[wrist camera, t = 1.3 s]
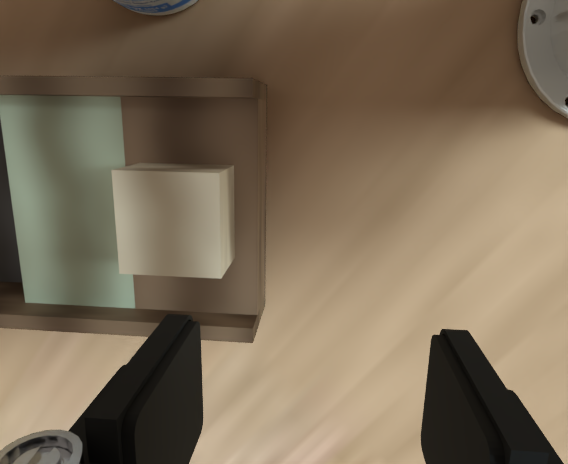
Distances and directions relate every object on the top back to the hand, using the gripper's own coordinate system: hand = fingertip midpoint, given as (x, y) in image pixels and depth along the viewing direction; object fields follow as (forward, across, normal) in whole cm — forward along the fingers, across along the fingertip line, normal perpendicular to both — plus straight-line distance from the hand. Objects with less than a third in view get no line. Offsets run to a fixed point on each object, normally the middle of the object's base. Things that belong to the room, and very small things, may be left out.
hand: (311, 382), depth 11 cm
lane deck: (+22, +16, 0) cm, 28 cm away
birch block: (+18, +8, 0) cm, 20 cm away
